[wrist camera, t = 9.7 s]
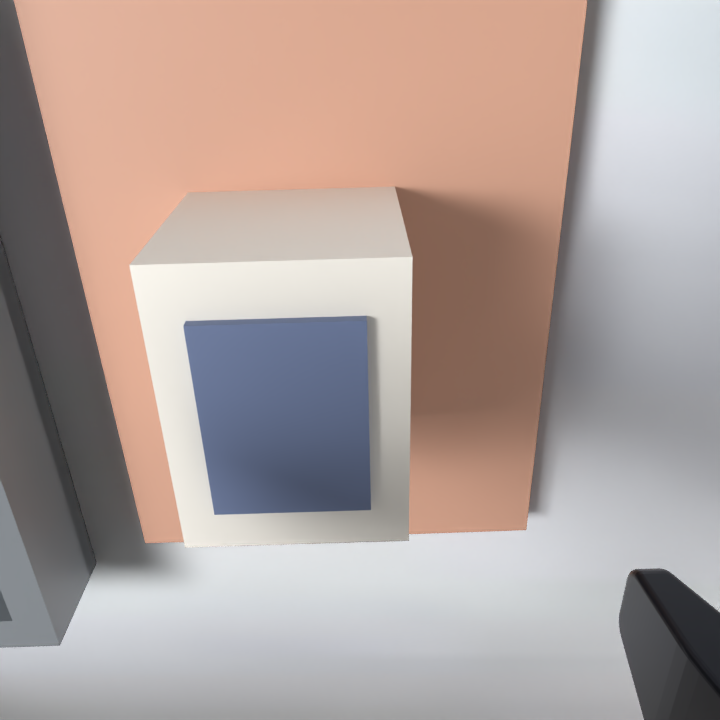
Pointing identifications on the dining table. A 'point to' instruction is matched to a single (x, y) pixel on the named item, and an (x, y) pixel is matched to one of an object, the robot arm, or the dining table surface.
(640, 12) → the dining table surface
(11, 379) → the parts bin
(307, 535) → the labelled box
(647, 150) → the dining table surface
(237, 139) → the pad
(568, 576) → the dining table surface
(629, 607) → the robot arm
